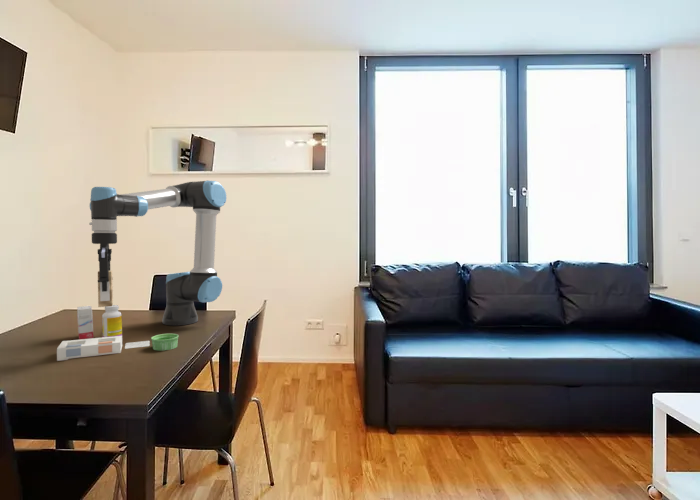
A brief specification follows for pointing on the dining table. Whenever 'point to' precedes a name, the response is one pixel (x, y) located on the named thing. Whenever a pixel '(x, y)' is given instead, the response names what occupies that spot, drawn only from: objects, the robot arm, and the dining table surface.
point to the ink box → (85, 322)
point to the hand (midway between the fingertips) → (105, 299)
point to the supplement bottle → (112, 322)
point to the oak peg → (110, 303)
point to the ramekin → (164, 341)
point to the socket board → (89, 347)
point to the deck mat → (137, 344)
